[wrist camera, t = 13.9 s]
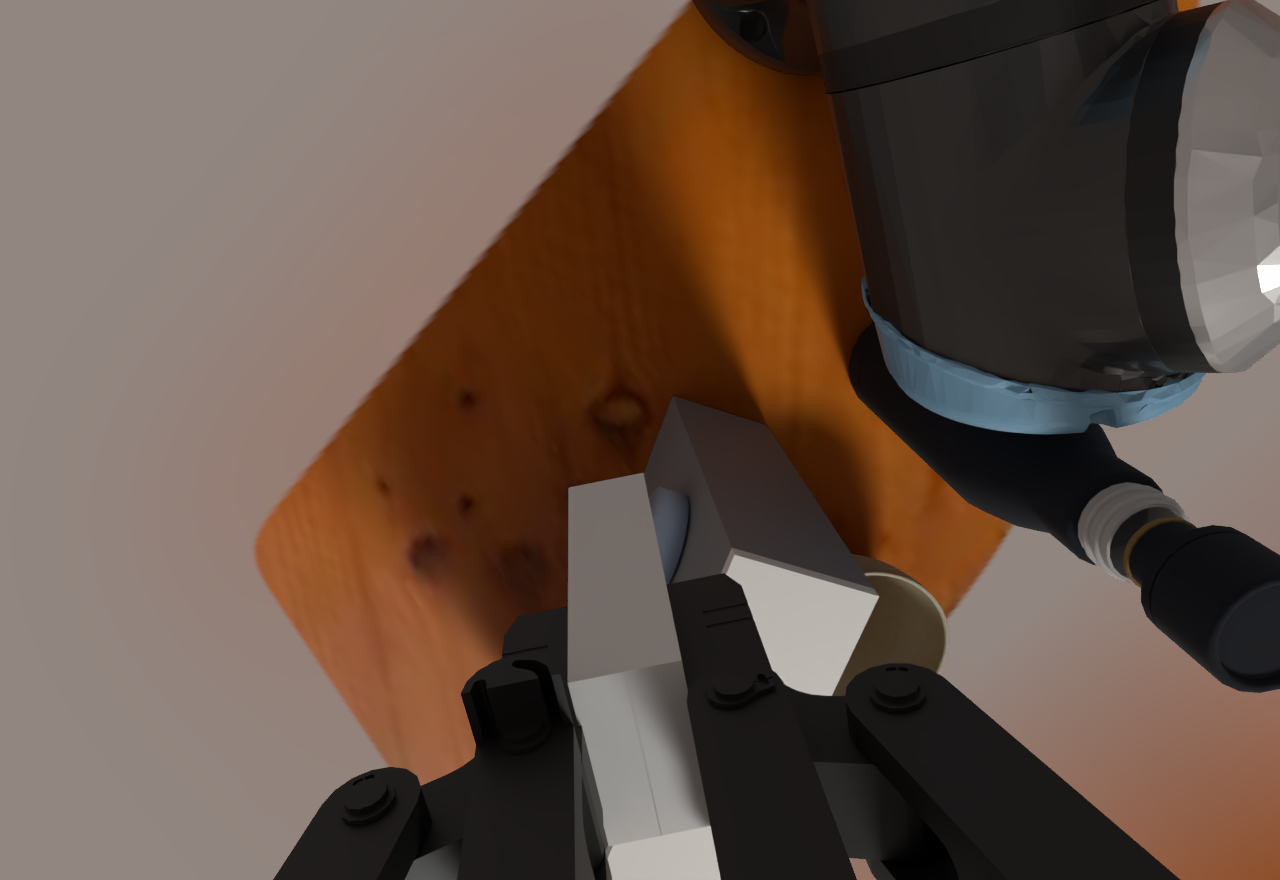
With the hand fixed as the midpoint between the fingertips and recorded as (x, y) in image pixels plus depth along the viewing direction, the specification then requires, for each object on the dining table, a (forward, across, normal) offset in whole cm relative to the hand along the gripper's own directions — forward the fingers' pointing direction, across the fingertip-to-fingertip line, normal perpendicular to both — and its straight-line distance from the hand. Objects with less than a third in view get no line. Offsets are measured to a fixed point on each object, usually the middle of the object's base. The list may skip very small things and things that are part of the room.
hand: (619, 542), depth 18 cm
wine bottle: (+35, +17, -9) cm, 40 cm away
